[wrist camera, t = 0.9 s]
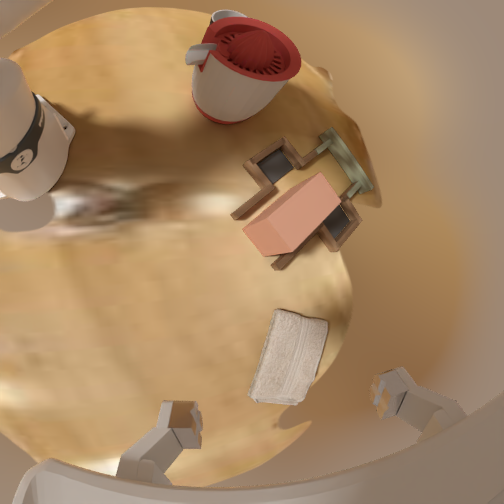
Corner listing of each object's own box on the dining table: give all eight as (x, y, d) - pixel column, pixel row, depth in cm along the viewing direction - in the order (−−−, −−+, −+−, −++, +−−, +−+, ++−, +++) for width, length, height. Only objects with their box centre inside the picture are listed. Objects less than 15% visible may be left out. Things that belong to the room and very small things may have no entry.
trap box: (209, 189, 45) (215, 181, 41) (311, 121, 54) (321, 112, 51) (292, 293, 49) (304, 294, 45) (370, 204, 59) (382, 201, 55)
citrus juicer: (174, 71, 43) (197, -4, 25) (254, 77, 50) (299, 17, 32) (174, 133, 43) (198, 56, 24) (264, 136, 49) (323, 78, 31)
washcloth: (244, 397, 44) (250, 404, 41) (271, 306, 48) (279, 307, 45) (297, 402, 48) (305, 407, 45) (322, 319, 52) (332, 321, 49)
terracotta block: (241, 229, 46) (266, 218, 37) (290, 188, 51) (320, 171, 41) (263, 256, 47) (292, 251, 38) (308, 213, 52) (341, 201, 42)
